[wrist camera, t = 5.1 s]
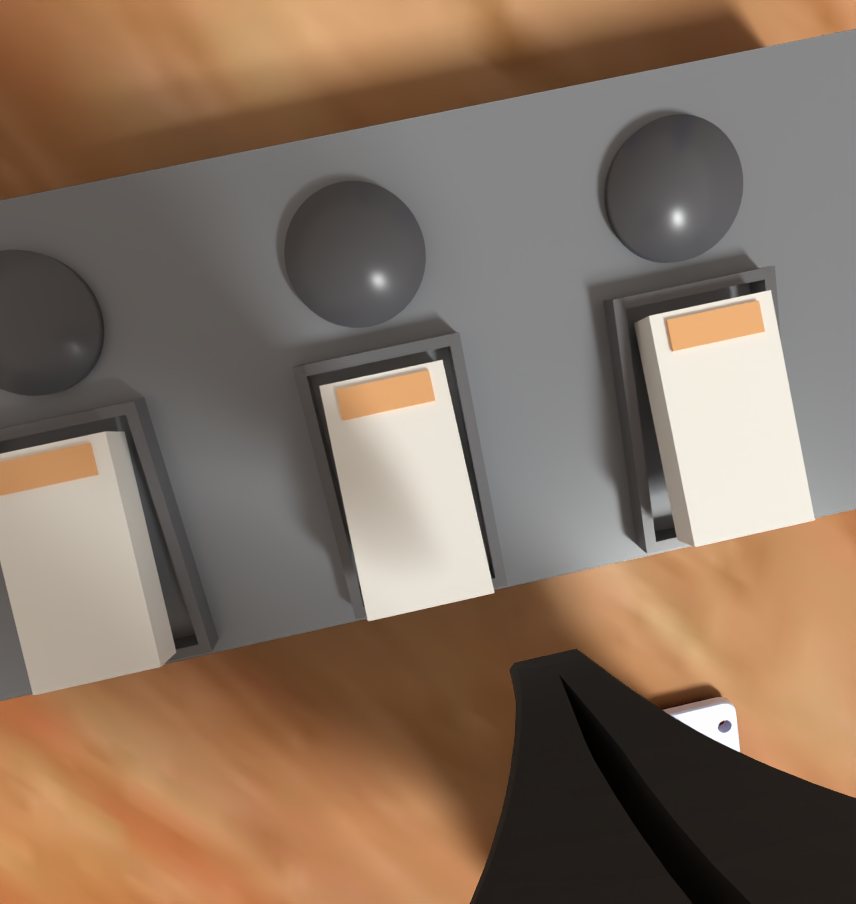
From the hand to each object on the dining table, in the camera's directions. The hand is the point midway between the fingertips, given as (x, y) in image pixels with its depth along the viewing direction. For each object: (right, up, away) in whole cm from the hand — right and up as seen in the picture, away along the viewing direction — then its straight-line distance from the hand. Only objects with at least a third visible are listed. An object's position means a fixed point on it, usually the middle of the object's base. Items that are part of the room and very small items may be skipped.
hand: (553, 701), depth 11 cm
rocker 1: (-11, +2, +4) cm, 12 cm away
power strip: (0, +8, +8) cm, 11 cm away
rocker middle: (-3, +4, +4) cm, 6 cm away
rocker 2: (+5, +6, +4) cm, 9 cm away
